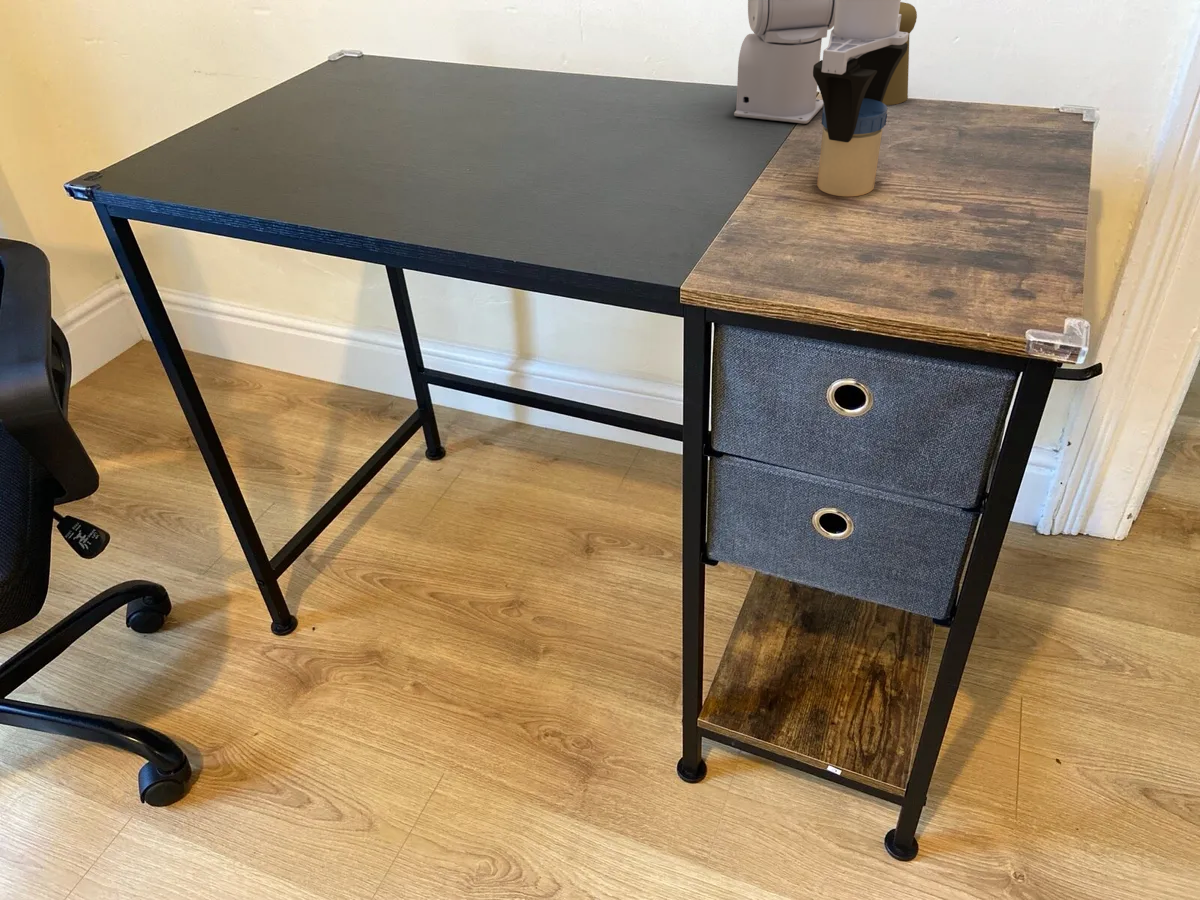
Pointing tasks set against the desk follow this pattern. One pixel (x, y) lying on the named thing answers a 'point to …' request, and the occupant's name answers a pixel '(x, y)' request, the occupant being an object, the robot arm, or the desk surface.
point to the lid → (867, 117)
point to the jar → (849, 164)
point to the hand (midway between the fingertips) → (852, 129)
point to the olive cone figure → (899, 79)
